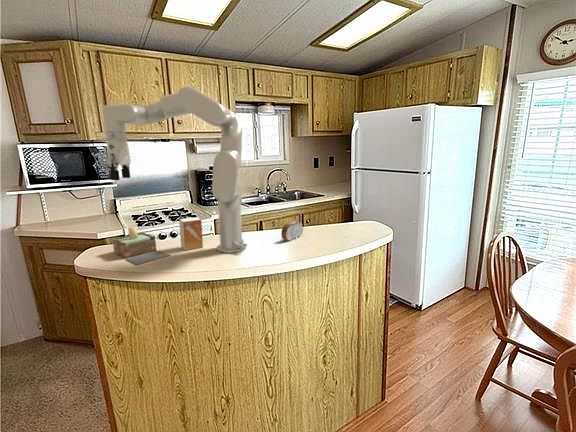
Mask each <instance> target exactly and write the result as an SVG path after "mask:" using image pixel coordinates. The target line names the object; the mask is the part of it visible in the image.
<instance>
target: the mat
mask: <svg viewBox="0 0 576 432" xmlns="http://www.w3.org/2000/svg"><path fill="white" fill-rule="evenodd" d="M170 256H171V254H169V253H166V252H163V251H162V250H156V251H154V252H150V253H147V254H143V255H139V256H135V257H131V258H127V259H125V261H127V262H129V263H131V264H133V265H136V266H139V265H142V264H146V263H149V262H153V261H156V260H160V259H163V258H167V257H170Z"/></svg>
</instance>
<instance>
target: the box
mask: <svg viewBox="0 0 576 432" xmlns="http://www.w3.org/2000/svg"><path fill="white" fill-rule="evenodd" d="M141 234H142V235H145V236H148V237H151V240H147V241H142V242H138V243H134V244H129V245H126V243H124V242H122V241H119V240H117V239H122V238H126V237H129V234H128V235H125V236H120V237H119V236H118V237H115V238H112V244H113V245H112V246H113V253H114V255H117V256H119V257H121V258H123V259H125V260H126V259H129V258H133V257H136V256H140V255H144V254H148V253H152V252H156V251H157V242H156V236H154V235H151V234H149V233H146V232H139V233H138V232H137V235H141Z"/></svg>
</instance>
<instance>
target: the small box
mask: <svg viewBox="0 0 576 432" xmlns="http://www.w3.org/2000/svg"><path fill="white" fill-rule="evenodd" d="M178 222H179V236H180V237H179V238H180V247H181V249H182V250H184V251H190V250H198V249H204V242H203V228H202V227H203V226H202V224H203V223H202V218H199V217H197V216H196V217H187V218H181V219H178Z"/></svg>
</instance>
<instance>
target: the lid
mask: <svg viewBox="0 0 576 432" xmlns="http://www.w3.org/2000/svg"><path fill="white" fill-rule="evenodd" d="M137 234H138V227H136V226H132V227H128V235H129V237H126V238H122V239H117V240H119V241H122V242H124V243H126V245H129V244H134V243H138V242H142V241H147V240H151V237H148V236H145V235H142V234H141V235H137Z"/></svg>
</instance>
